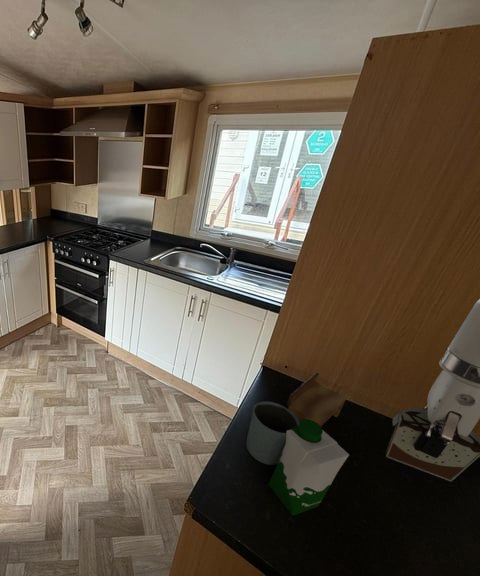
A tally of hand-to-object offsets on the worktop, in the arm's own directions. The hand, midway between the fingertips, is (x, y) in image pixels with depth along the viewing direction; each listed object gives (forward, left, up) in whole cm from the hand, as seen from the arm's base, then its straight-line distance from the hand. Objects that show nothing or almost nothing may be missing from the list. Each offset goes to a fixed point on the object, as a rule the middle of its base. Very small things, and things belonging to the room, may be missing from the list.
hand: (425, 439), depth 60 cm
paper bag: (+20, -12, -21) cm, 32 cm away
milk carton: (+12, +14, -22) cm, 29 cm away
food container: (0, 0, -5) cm, 5 cm away
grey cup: (+22, +8, -22) cm, 32 cm away
